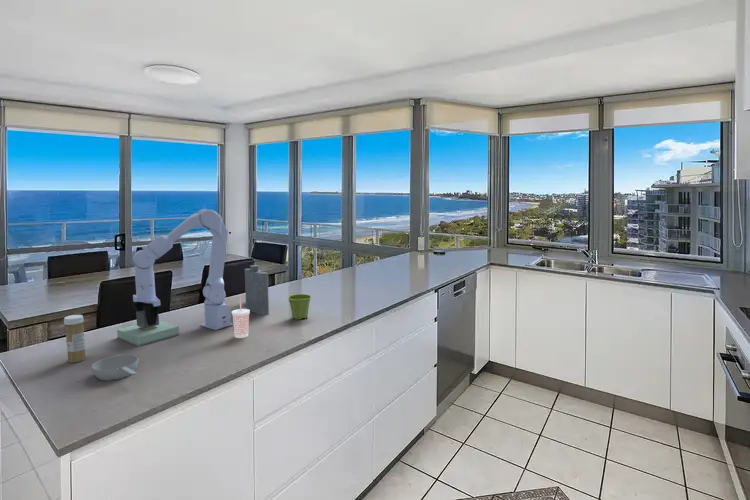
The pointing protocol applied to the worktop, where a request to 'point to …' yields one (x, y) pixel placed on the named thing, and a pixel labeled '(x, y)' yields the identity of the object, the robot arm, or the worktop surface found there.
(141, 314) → the plug
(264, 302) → the hip flask
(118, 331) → the socket block
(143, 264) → the robot arm
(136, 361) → the small pan
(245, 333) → the beverage cup
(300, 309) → the plant pot
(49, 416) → the worktop surface
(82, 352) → the sprinkles bottle
